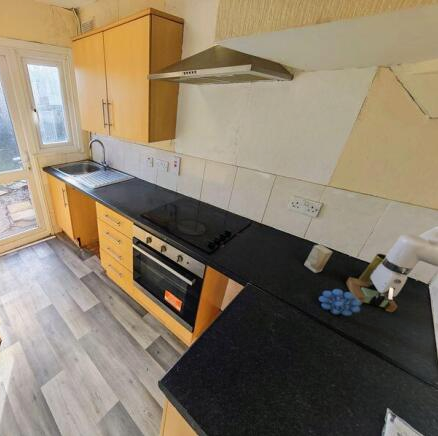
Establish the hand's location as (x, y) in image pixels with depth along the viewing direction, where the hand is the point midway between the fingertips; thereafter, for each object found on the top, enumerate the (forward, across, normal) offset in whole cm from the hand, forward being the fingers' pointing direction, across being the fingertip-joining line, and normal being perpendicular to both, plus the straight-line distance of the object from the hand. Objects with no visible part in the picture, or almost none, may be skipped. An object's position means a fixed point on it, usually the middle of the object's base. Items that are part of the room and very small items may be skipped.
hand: (371, 298), depth 93 cm
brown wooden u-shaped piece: (+1, +2, 0) cm, 3 cm away
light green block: (+1, 0, 0) cm, 1 cm away
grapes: (+1, -13, +16) cm, 20 cm away
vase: (+1, +13, -4) cm, 14 cm away
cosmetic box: (+1, +13, +18) cm, 22 cm away
